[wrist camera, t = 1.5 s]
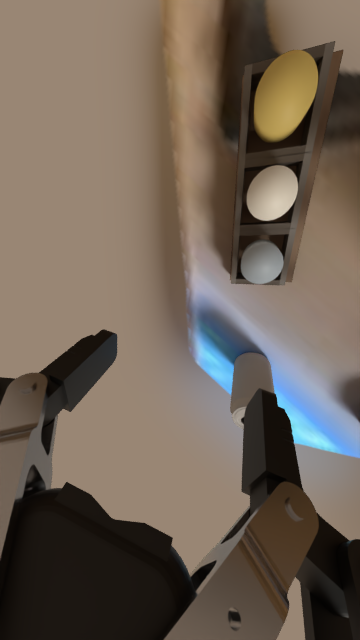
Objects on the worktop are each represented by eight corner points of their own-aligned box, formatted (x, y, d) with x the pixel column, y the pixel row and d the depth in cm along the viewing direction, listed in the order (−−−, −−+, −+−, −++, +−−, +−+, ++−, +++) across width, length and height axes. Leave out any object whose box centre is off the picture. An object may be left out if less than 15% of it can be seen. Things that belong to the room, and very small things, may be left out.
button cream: (280, 159, 19) (285, 152, 16) (298, 200, 20) (306, 199, 17) (239, 191, 21) (238, 189, 18) (258, 227, 22) (259, 230, 19)
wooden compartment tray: (243, 86, 20) (241, 57, 16) (334, 63, 18) (359, 24, 14) (231, 276, 30) (228, 287, 26) (289, 277, 28) (295, 289, 24)
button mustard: (294, 58, 15) (303, 28, 13) (315, 113, 17) (327, 97, 14) (245, 108, 18) (244, 92, 15) (266, 154, 19) (269, 146, 16)
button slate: (269, 231, 22) (272, 235, 19) (285, 263, 23) (290, 271, 20) (235, 253, 24) (233, 259, 21) (251, 281, 25) (252, 290, 22)
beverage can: (227, 363, 39) (220, 418, 29) (249, 343, 35) (249, 398, 25) (254, 380, 39) (256, 441, 29) (278, 363, 35) (290, 425, 25)
